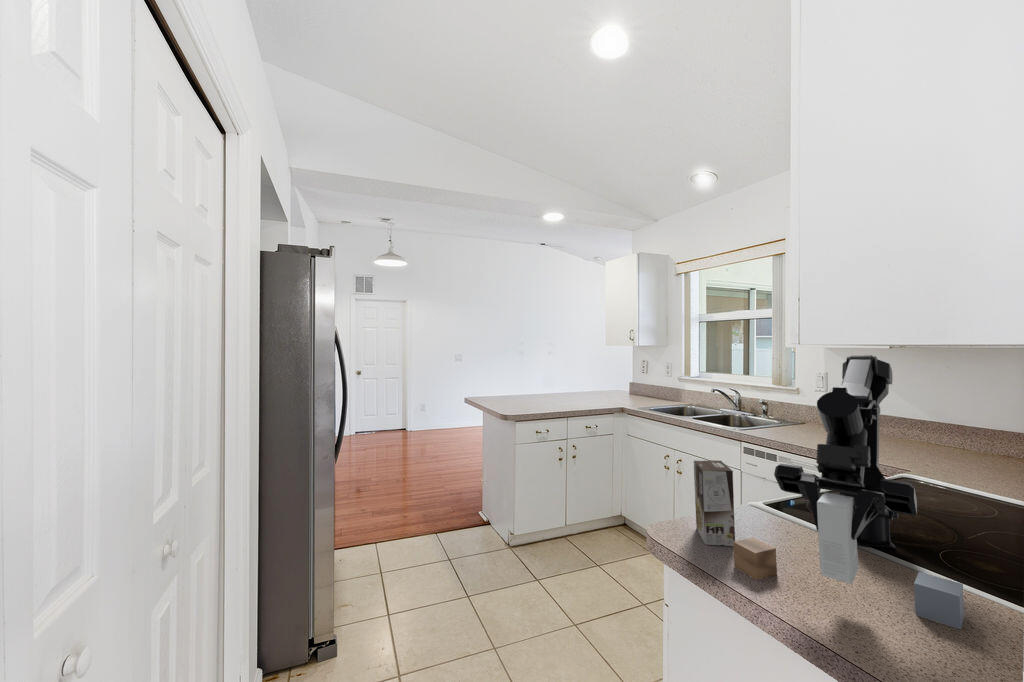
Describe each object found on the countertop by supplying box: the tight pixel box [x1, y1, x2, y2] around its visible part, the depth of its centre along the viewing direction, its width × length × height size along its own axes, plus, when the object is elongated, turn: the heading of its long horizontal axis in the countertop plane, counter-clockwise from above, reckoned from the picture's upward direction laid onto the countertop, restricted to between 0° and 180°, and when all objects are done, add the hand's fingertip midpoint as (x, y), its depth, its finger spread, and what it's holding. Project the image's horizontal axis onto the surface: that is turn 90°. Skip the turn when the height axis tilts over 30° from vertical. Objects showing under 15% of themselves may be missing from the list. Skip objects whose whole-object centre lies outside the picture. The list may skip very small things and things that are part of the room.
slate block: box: [913, 571, 965, 630], centre depth 68 cm, size 5×5×5 cm
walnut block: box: [733, 537, 778, 581], centre depth 82 cm, size 5×5×5 cm
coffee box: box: [693, 460, 736, 547], centre depth 97 cm, size 9×6×16 cm
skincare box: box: [817, 491, 859, 585], centre depth 70 cm, size 6×4×12 cm
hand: (835, 534), depth 70 cm, fingers closed on skincare box, 4 cm apart
